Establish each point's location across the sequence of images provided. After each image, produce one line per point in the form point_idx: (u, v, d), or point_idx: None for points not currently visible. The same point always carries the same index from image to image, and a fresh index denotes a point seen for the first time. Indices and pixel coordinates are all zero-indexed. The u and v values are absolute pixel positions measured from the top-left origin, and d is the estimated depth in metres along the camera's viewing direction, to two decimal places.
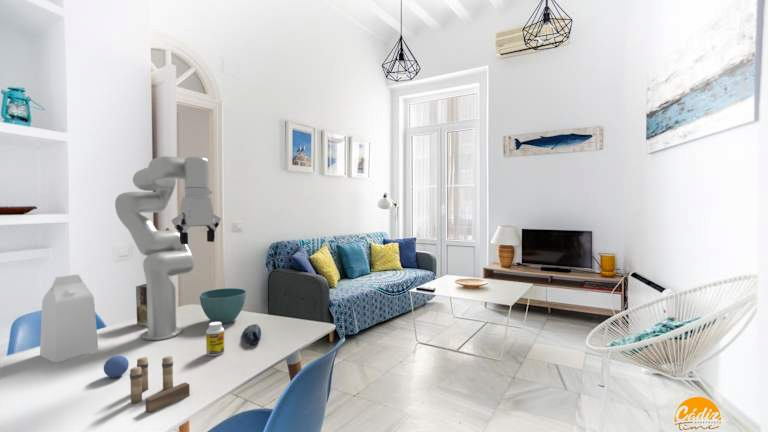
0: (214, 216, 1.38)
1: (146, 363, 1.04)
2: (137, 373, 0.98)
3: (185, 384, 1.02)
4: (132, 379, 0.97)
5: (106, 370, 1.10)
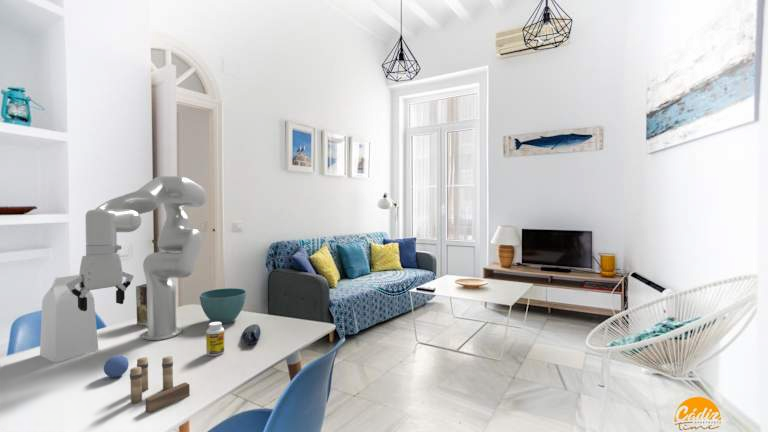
0: (124, 274, 1.22)
1: (146, 363, 1.04)
2: (137, 373, 0.98)
3: (185, 384, 1.02)
4: (132, 379, 0.97)
5: (106, 370, 1.10)
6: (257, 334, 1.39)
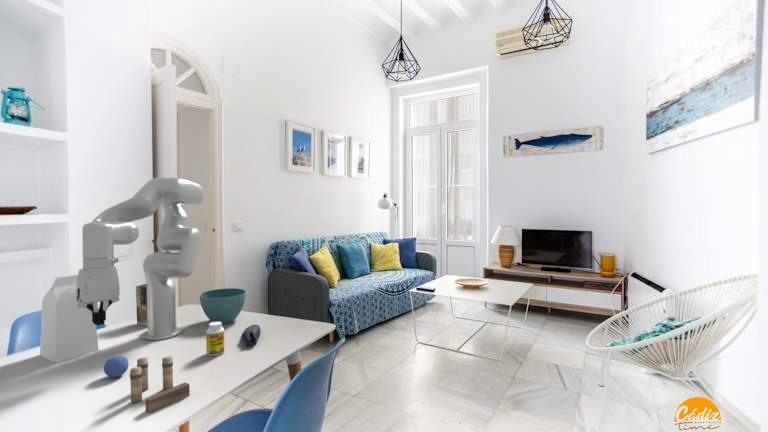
0: None
1: (146, 363, 1.04)
2: (137, 373, 0.98)
3: (185, 384, 1.02)
4: (132, 379, 0.97)
5: (106, 370, 1.10)
6: (256, 334, 1.39)
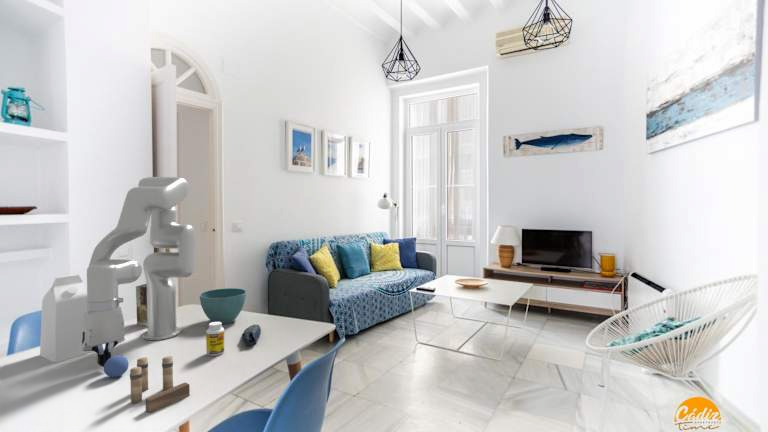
0: None
1: (146, 363, 1.04)
2: (137, 373, 0.98)
3: (185, 384, 1.02)
4: (132, 379, 0.97)
5: (106, 370, 1.10)
6: (256, 335, 1.39)
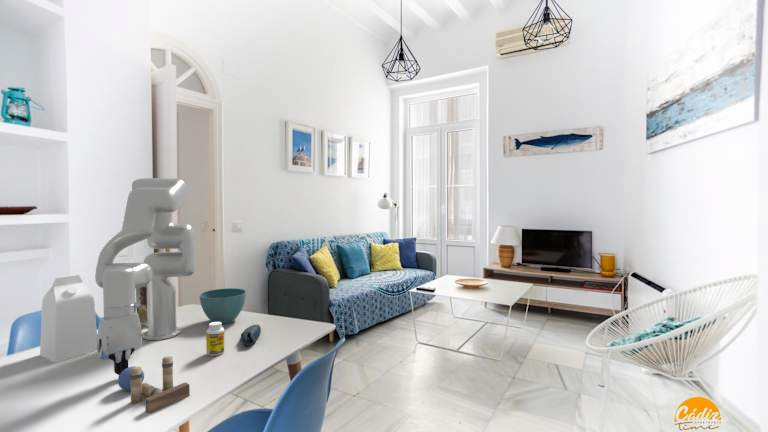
0: None
1: None
2: (137, 373, 0.98)
3: (185, 384, 1.02)
4: (132, 379, 0.97)
5: (118, 382, 1.03)
6: (254, 335, 1.38)
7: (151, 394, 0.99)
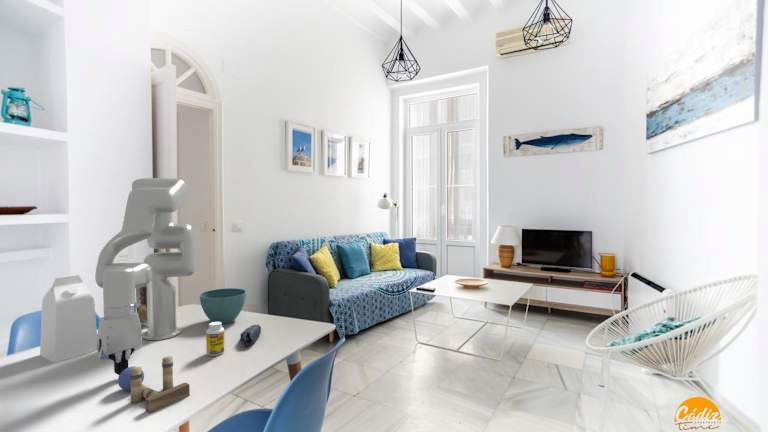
0: None
1: None
2: (137, 373, 0.98)
3: (185, 384, 1.02)
4: (132, 379, 0.97)
5: (118, 382, 1.03)
6: (253, 335, 1.38)
7: None
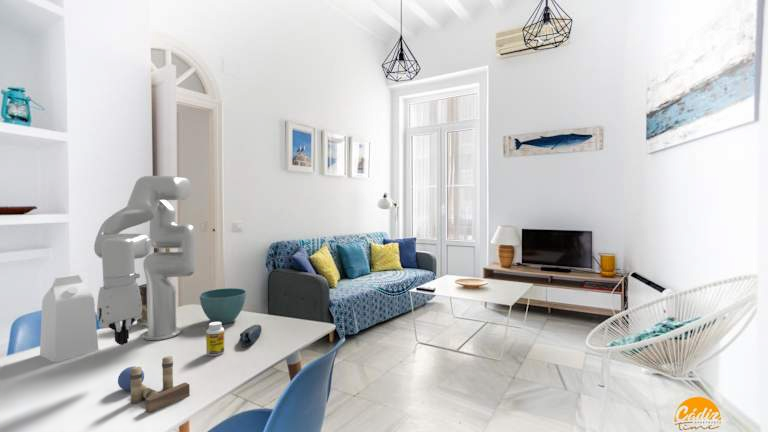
0: None
1: None
2: (137, 373, 0.98)
3: (185, 384, 1.02)
4: (132, 379, 0.97)
5: (118, 382, 1.03)
6: (253, 335, 1.38)
7: None
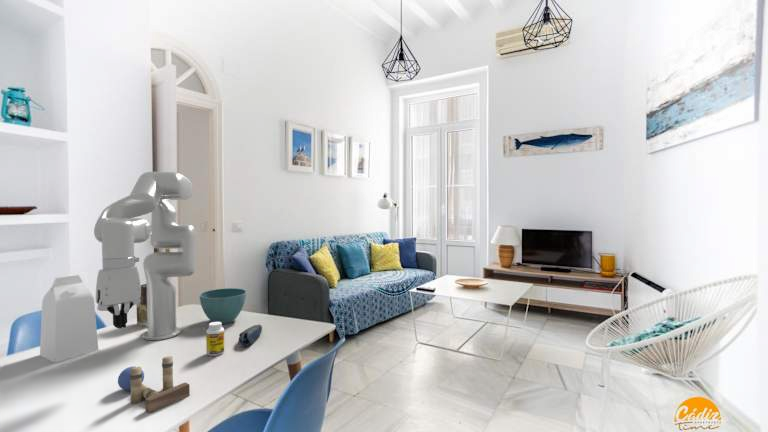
0: None
1: None
2: (137, 373, 0.98)
3: (185, 384, 1.02)
4: (132, 379, 0.97)
5: (118, 382, 1.03)
6: (251, 336, 1.38)
7: None
